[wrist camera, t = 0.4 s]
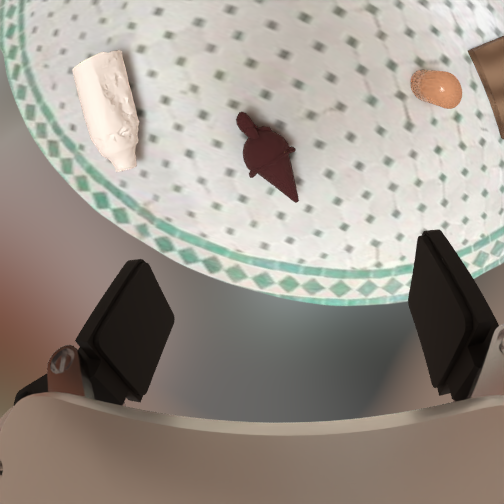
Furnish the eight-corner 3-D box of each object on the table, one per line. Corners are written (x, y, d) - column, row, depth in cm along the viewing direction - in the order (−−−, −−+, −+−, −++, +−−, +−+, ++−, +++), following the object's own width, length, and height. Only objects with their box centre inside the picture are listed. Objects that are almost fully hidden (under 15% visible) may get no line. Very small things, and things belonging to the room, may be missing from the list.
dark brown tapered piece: (325, 193, 38) (264, 96, 32) (278, 222, 39) (214, 127, 34) (313, 184, 44) (260, 102, 39) (273, 209, 45) (218, 128, 40)
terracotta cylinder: (404, 77, 32) (424, 79, 26) (429, 65, 29) (451, 66, 24) (420, 106, 34) (441, 114, 28) (444, 94, 31) (467, 100, 26)
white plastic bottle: (119, 165, 46) (94, 184, 39) (92, 67, 35) (61, 72, 29) (158, 156, 44) (135, 173, 37) (131, 49, 33) (102, 49, 27)
